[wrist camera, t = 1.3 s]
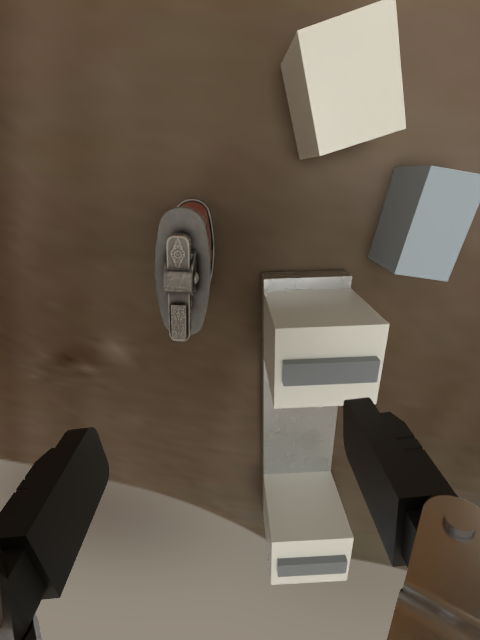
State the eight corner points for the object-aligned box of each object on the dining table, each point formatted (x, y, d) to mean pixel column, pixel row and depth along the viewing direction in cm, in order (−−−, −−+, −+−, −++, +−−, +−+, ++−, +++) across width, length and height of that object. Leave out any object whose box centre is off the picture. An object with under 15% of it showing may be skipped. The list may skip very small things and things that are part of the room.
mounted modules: (263, 513, 37) (271, 592, 30) (263, 291, 27) (276, 333, 20) (326, 510, 37) (348, 587, 30) (350, 288, 27) (393, 328, 20)
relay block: (299, 160, 25) (319, 156, 19) (280, 65, 23) (297, 30, 17) (366, 138, 24) (406, 128, 19) (353, 39, 22) (395, -5, 17)
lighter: (171, 197, 26) (140, 210, 16) (215, 199, 26) (209, 214, 17) (173, 296, 29) (149, 354, 20) (213, 298, 29) (207, 356, 20)
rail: (261, 503, 39) (263, 519, 38) (261, 272, 28) (263, 279, 26) (320, 500, 40) (325, 516, 38) (344, 269, 28) (352, 276, 26)
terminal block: (367, 257, 28) (394, 274, 24) (394, 167, 25) (431, 165, 21) (412, 264, 28) (447, 281, 24) (443, 175, 26) (490, 175, 21)
